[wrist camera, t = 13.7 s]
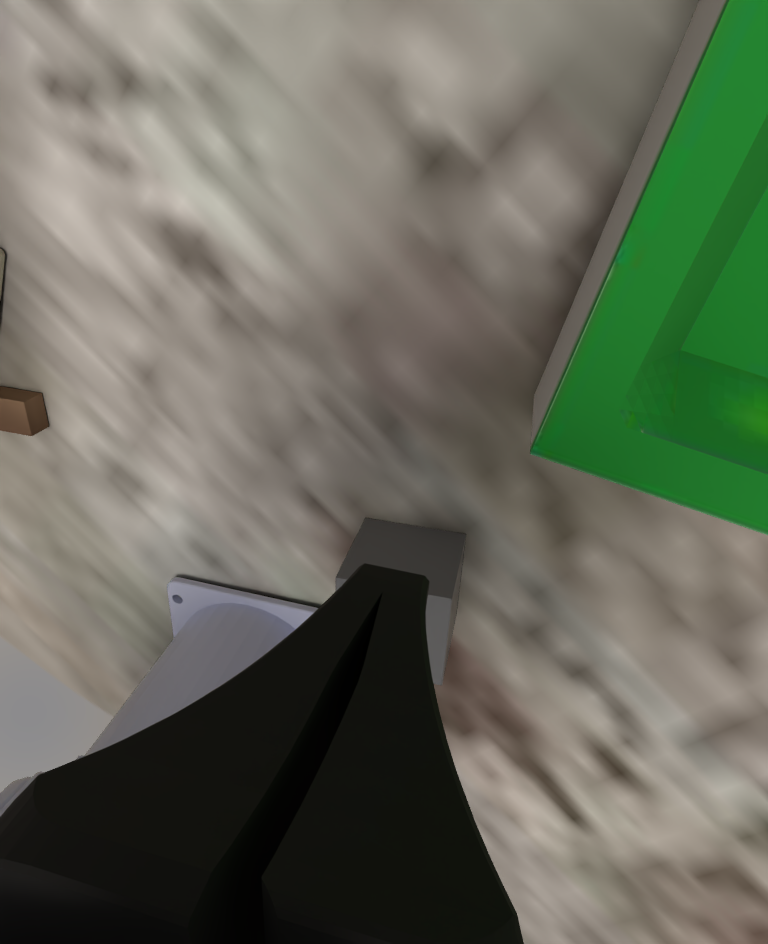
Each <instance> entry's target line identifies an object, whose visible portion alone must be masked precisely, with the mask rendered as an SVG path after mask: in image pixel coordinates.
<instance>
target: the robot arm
mask: <svg viewBox="0 0 768 944" xmlns="http://www.w3.org/2000/svg"><path fill="white" fill-rule="evenodd" d="M429 582H430V581H429V580H428V579H427V578H426V576H425V575H420V574H415V573H410V572H405V571H401V570H396V569H391V568H386V567H381V566H376V565H371V564H366V563H364V564H363V565H361V566H359V567H358V568H357V569H356V571H355V572H354V573H353V574H352V575H351V576H350V577H349V578H348V579H347V580H346V582H345V583H344V584H343V585H342V586H341V587H340V588H339V589H338V590H337V591H336V592H335V593H334V594H333V595H332V596H331V597H330V598H329V599H328V600H327V601H326V602H325V603H324V604H323V605H322V606H321V607H319V608H316V607H311V606H307V605H302V604H297V603H293V602H288V601H284V600H279V599H275V598H270V597H266V596H261V595H257V594H252V593H248V592H243V591H239V590H234V589H230V588H225V587H221V586H216V585H212V584H207V583H203V582H198V581H193V580H189V579H184V578H180V577H175V578H173V579H172V580H171V581H170V582H169V583H168V584H167V591H168V599H169V606H170V613H171V621H172V628H173V636H174V639H173V640H172V642H171V643H170V644H169V646H168V647H167V648H166V650H165V651H164V652H163V654H162V655H161V656H160V657H159V659H158V660H157V661H156V663H155V664H154V665H153V667H152V668H151V669H150V671H149V672H148V673H147V675H146V676H145V677H144V678H143V680H142V681H141V682H140V684H139V685H138V686H137V688H136V689H135V690H134V692H133V693H132V694H131V695H130V697H129V698H128V699H127V701H126V702H125V703H124V705H123V706H122V707H121V709H120V710H119V711H118V713H117V714H116V715H115V716H114V718H113V719H112V720H111V722H110V723H109V724H108V726H107V727H106V728H105V730H104V731H103V732H102V734H101V735H100V736H99V738H98V739H97V740H96V742H95V743H94V744H93V745H92V747H91V748H90V750H89V751H88V752H87V753H86V754H85V756H82V755H81V756H78V758H77V759H76V760H75V761H72V762H70V763H67V764H65V765H62V766H60V767H58V768H55V769H53V770H50V771H47V772H38V773H36V774H35V775H34V776H32V777H27V778H23V779H19V780H16V781H13V782H12V783H11V784H10V785H8V786H7V787H6V788H5V789H4V790H3V791H2V792H1V793H0V944H524V943H523V939H522V934H521V930H520V925H519V921H518V916H517V913H516V911H515V909H514V907H513V905H512V902H511V900H510V898H509V896H508V894H507V892H506V890H505V888H504V886H503V884H502V882H501V880H500V878H499V875H498V873H497V871H496V869H495V867H494V865H493V862H492V860H491V858H490V856H489V854H488V851H487V849H486V846H485V844H484V842H483V839H482V837H481V835H480V832H479V830H478V828H477V825H476V823H475V820H474V818H473V815H472V812H471V810H470V807H469V804H468V801H467V799H466V796H465V793H464V791H463V788H462V785H461V782H460V780H459V777H458V774H457V771H456V768H455V765H454V762H453V759H452V756H451V752H450V749H449V746H448V743H447V739H446V735H445V732H444V728H443V724H442V720H441V716H440V712H439V708H438V704H437V699H436V694H435V689H434V684H433V679H432V673H431V667H430V661H429V652H428V643H427V634H426V605H427V598H428V590H429ZM178 595H179V596H180V597H179V596H178Z"/></svg>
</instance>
